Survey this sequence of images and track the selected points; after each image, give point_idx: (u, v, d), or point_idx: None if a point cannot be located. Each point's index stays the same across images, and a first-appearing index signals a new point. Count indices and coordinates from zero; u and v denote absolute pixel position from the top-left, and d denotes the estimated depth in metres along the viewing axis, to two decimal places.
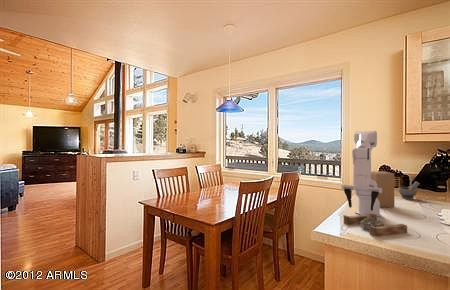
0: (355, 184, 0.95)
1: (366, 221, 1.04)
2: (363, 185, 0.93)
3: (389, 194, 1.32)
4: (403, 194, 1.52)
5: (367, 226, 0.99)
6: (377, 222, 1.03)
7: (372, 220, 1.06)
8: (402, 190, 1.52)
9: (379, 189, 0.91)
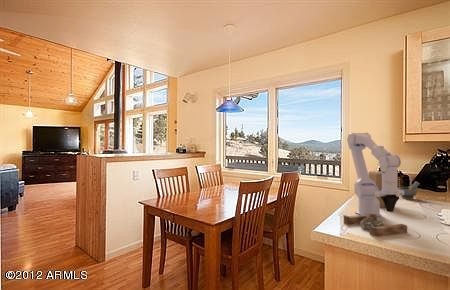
0: (390, 191, 1.01)
1: (366, 221, 1.04)
2: (397, 191, 1.01)
3: None
4: None
5: (367, 226, 0.99)
6: (376, 222, 1.04)
7: (371, 220, 1.06)
8: None
9: (403, 192, 1.04)
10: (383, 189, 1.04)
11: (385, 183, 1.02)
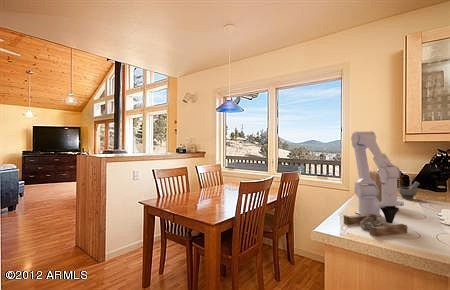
0: (390, 202, 1.01)
1: (365, 221, 1.04)
2: (396, 202, 1.01)
3: None
4: (403, 194, 1.52)
5: (367, 226, 0.99)
6: (376, 222, 1.04)
7: (371, 220, 1.06)
8: (402, 190, 1.52)
9: (402, 203, 1.04)
10: (383, 200, 1.04)
11: (385, 194, 1.02)
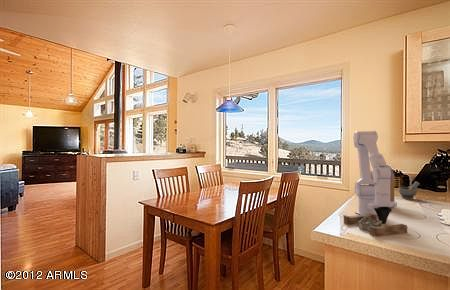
0: (383, 203, 1.00)
1: (363, 221, 1.04)
2: (389, 203, 1.00)
3: None
4: (403, 194, 1.52)
5: (365, 226, 0.99)
6: (374, 221, 1.04)
7: (369, 219, 1.06)
8: (402, 190, 1.52)
9: (395, 203, 1.03)
10: (376, 201, 1.03)
11: (378, 195, 1.02)
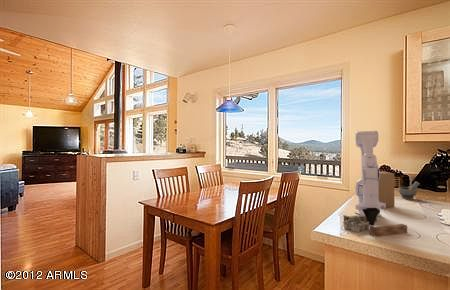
0: (371, 204, 0.99)
1: (351, 221, 1.04)
2: (377, 204, 0.99)
3: (389, 194, 1.32)
4: (403, 194, 1.52)
5: (349, 226, 0.99)
6: (362, 222, 1.02)
7: (358, 220, 1.05)
8: (402, 190, 1.52)
9: (384, 204, 1.02)
10: (364, 202, 1.01)
11: (366, 196, 1.00)
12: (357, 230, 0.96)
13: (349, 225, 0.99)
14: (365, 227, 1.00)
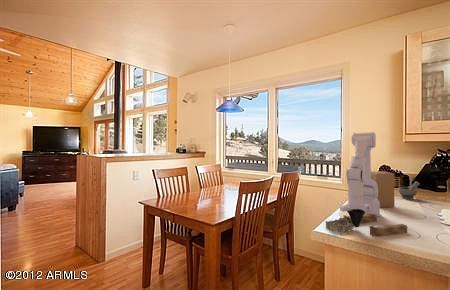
0: (356, 205, 0.97)
1: (337, 222, 1.04)
2: (362, 205, 0.97)
3: (389, 194, 1.32)
4: (403, 194, 1.52)
5: (330, 225, 1.01)
6: (348, 224, 1.01)
7: (346, 222, 1.03)
8: (402, 190, 1.52)
9: (369, 206, 1.00)
10: (349, 203, 0.99)
11: (351, 197, 0.98)
12: (334, 230, 0.97)
13: (330, 225, 1.01)
14: (348, 229, 0.98)
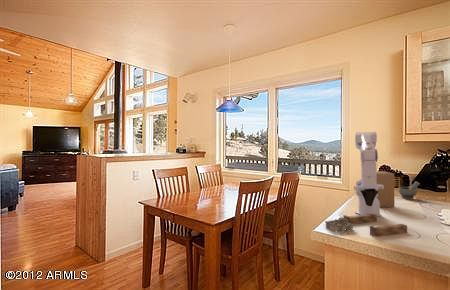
0: (369, 185, 1.01)
1: (336, 222, 1.04)
2: (375, 185, 1.01)
3: (389, 194, 1.32)
4: (403, 194, 1.52)
5: (330, 225, 1.01)
6: (348, 224, 1.01)
7: (346, 222, 1.03)
8: (402, 190, 1.52)
9: (382, 186, 1.04)
10: (362, 183, 1.04)
11: (364, 177, 1.02)
12: (335, 230, 0.97)
13: (330, 225, 1.01)
14: (348, 229, 0.99)
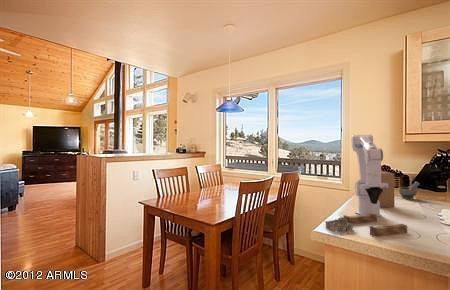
0: (374, 183, 1.04)
1: (336, 222, 1.04)
2: (380, 183, 1.04)
3: (389, 194, 1.32)
4: (403, 194, 1.52)
5: (330, 225, 1.01)
6: (348, 224, 1.01)
7: (346, 222, 1.04)
8: (402, 190, 1.52)
9: (386, 184, 1.07)
10: (367, 182, 1.06)
11: (369, 176, 1.05)
12: (335, 230, 0.97)
13: (330, 225, 1.01)
14: (348, 229, 0.99)
